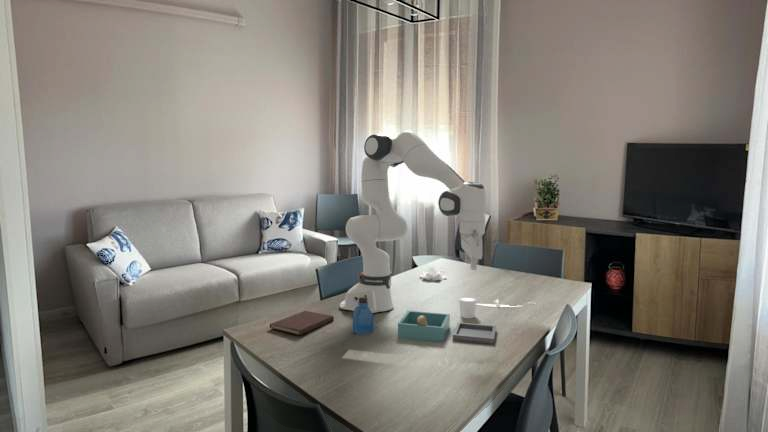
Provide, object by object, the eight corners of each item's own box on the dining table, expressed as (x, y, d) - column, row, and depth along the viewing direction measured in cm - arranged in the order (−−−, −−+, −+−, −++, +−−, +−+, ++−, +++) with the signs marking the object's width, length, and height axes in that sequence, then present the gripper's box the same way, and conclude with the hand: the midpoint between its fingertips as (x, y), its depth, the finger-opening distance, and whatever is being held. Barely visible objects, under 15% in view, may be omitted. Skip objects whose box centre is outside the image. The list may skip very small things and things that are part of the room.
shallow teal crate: (397, 337, 181) (397, 323, 180) (407, 323, 196) (407, 310, 195) (442, 342, 176) (443, 327, 176) (449, 327, 192) (449, 314, 191)
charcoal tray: (452, 340, 178) (452, 334, 178) (457, 327, 192) (457, 322, 191) (493, 344, 174) (493, 338, 174) (495, 331, 188) (496, 325, 188)
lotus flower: (450, 281, 262) (450, 265, 261) (442, 288, 248) (443, 271, 247) (423, 279, 267) (423, 262, 266) (414, 285, 253) (414, 268, 252)
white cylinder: (475, 319, 201) (476, 302, 200) (458, 318, 203) (458, 300, 202) (476, 314, 208) (476, 297, 207) (459, 313, 209) (459, 296, 209)
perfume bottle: (356, 334, 184) (356, 301, 183) (353, 328, 190) (352, 297, 188) (373, 332, 186) (373, 300, 184) (369, 327, 192) (369, 295, 190)
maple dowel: (417, 329, 187) (415, 320, 179) (423, 322, 188) (420, 313, 180) (424, 334, 185) (422, 326, 178) (430, 327, 186) (428, 318, 179)
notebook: (269, 327, 192) (269, 322, 192) (304, 314, 209) (304, 309, 208) (299, 335, 184) (299, 330, 184) (333, 320, 201) (333, 315, 200)
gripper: (487, 233, 171) (486, 273, 173) (475, 223, 191) (473, 259, 193) (469, 233, 171) (467, 273, 173) (458, 223, 191) (457, 259, 193)
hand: (470, 266), depth 183 cm, fingers open, 8 cm apart
